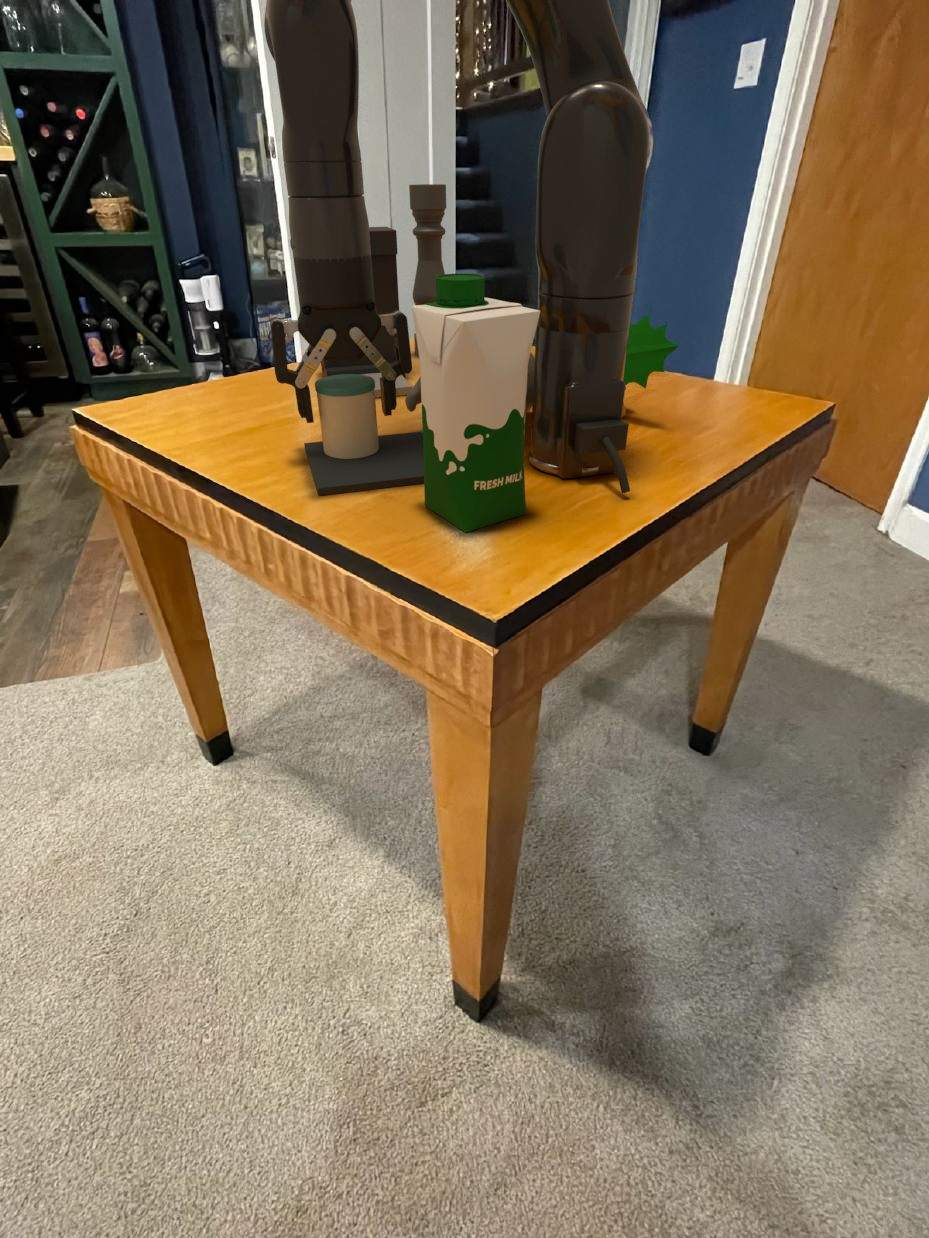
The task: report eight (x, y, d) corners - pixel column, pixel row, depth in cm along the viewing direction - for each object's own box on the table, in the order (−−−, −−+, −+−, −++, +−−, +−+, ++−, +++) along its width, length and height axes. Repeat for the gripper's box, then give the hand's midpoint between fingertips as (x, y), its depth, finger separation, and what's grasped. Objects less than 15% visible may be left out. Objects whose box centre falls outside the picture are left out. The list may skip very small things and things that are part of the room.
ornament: (643, 452, 92) (710, 345, 84) (614, 451, 86) (684, 336, 78) (535, 376, 100) (587, 272, 93) (501, 370, 94) (554, 258, 86)
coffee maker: (418, 394, 99) (412, 236, 88) (335, 401, 96) (317, 239, 85) (395, 366, 113) (386, 226, 102) (321, 372, 110) (304, 229, 99)
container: (384, 456, 76) (379, 387, 72) (326, 462, 74) (317, 392, 70) (374, 437, 81) (369, 372, 77) (320, 443, 80) (311, 376, 75)
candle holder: (431, 348, 123) (426, 184, 109) (457, 353, 120) (455, 184, 106) (407, 355, 119) (399, 185, 106) (434, 360, 116) (429, 185, 102)
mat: (452, 479, 72) (452, 472, 72) (318, 496, 69) (317, 488, 68) (421, 437, 83) (421, 431, 83) (305, 449, 80) (304, 443, 80)
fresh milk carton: (484, 485, 71) (487, 269, 60) (540, 515, 65) (554, 281, 54) (411, 505, 67) (399, 278, 56) (463, 540, 61) (461, 292, 49)
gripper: (258, 258, 62) (285, 434, 71) (412, 252, 65) (420, 421, 74) (254, 250, 68) (280, 413, 77) (396, 244, 71) (405, 402, 80)
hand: (349, 417), depth 75 cm, fingers open, 8 cm apart
